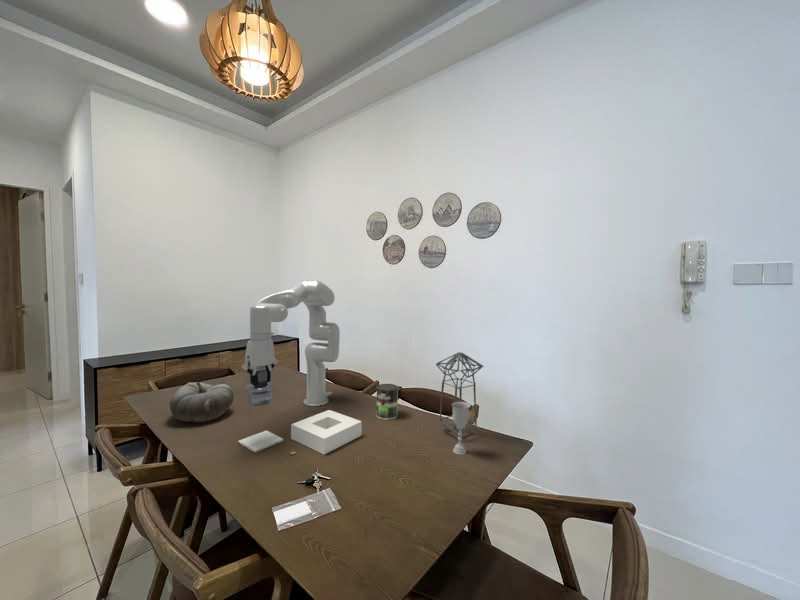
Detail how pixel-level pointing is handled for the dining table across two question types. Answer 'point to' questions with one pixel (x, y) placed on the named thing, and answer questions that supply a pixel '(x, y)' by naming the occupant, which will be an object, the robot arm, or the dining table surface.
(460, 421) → the chalice
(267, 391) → the grey round knobbed piece
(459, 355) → the geometric lantern
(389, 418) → the coffee can
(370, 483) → the dining table surface
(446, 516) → the dining table surface
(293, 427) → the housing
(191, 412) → the gourd
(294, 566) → the dining table surface
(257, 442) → the mat
